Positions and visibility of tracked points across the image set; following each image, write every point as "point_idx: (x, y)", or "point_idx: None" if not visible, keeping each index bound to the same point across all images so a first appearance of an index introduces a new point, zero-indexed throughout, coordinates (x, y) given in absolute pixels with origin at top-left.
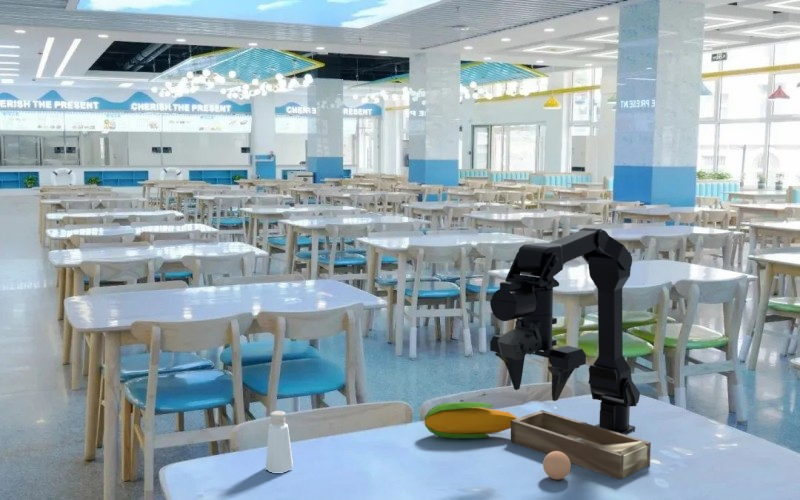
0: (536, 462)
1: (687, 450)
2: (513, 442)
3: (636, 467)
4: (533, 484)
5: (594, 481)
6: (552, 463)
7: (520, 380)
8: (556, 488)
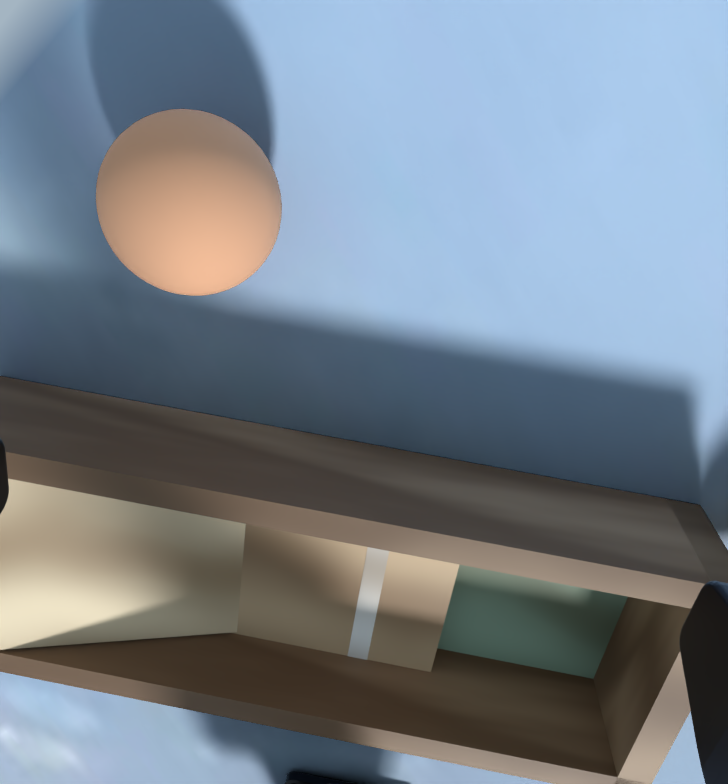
0: (432, 330)
1: (28, 756)
2: (679, 501)
3: None
4: (268, 10)
5: (62, 284)
6: (153, 121)
7: (716, 772)
8: (136, 54)
